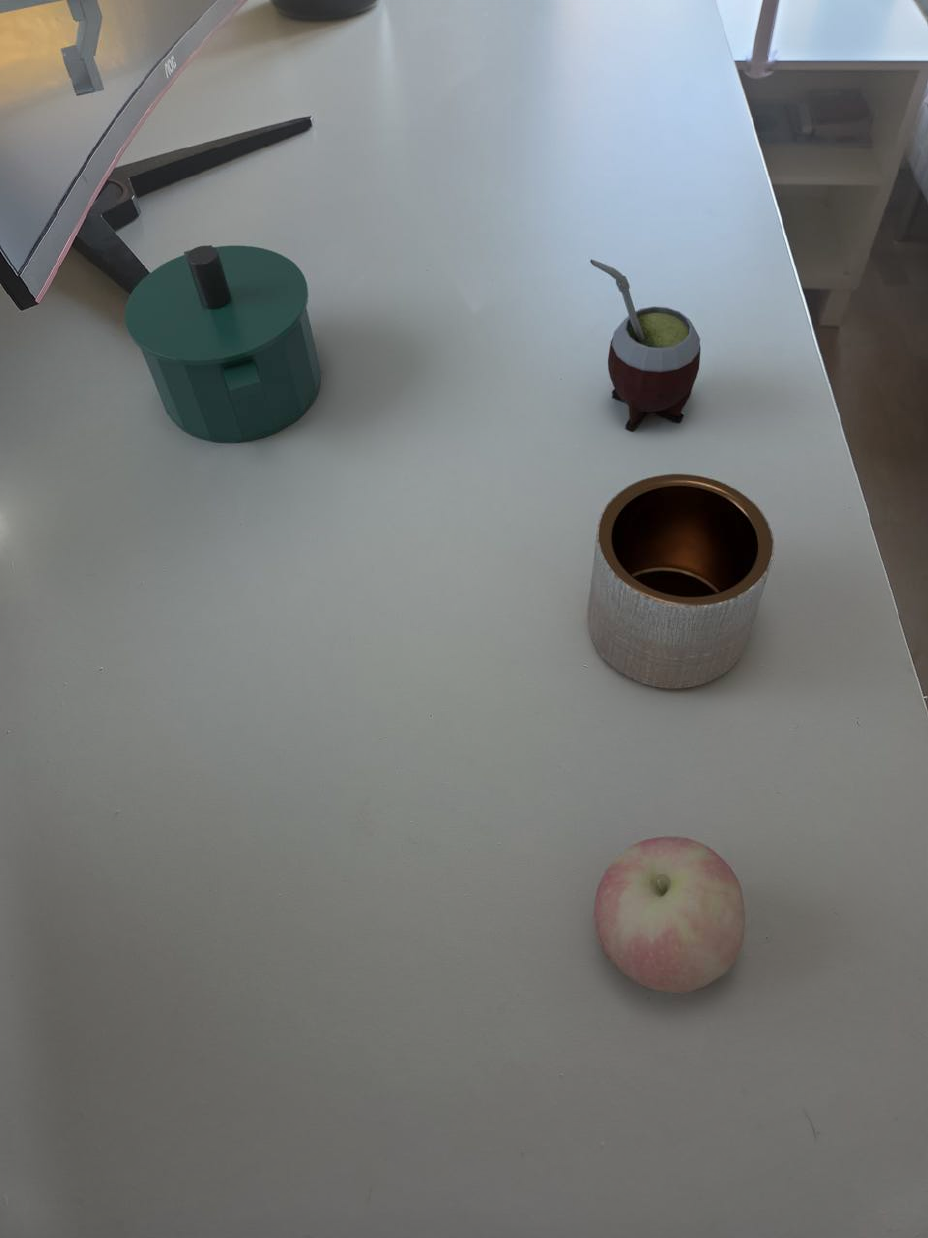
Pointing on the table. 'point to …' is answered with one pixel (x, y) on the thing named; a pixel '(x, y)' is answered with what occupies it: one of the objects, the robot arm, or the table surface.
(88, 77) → the robot arm
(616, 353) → the mate gourd
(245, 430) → the pot
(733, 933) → the apple
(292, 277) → the lid
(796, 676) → the table surface
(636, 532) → the planter
